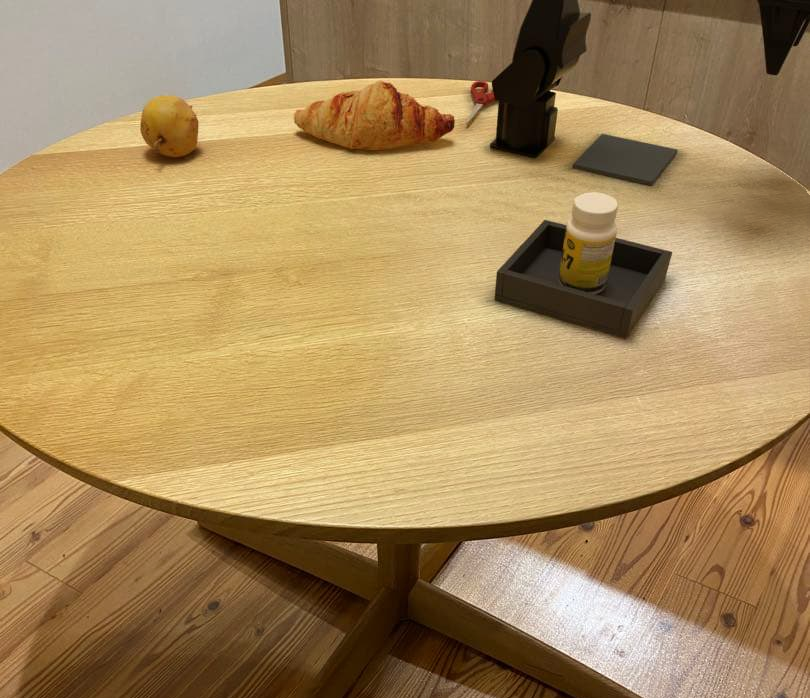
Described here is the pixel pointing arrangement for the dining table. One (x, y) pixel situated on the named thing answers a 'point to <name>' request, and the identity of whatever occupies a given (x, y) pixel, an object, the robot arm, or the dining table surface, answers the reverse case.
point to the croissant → (373, 119)
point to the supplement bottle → (589, 243)
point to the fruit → (169, 126)
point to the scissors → (480, 97)
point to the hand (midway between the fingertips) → (782, 59)
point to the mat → (625, 159)
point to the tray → (606, 311)
